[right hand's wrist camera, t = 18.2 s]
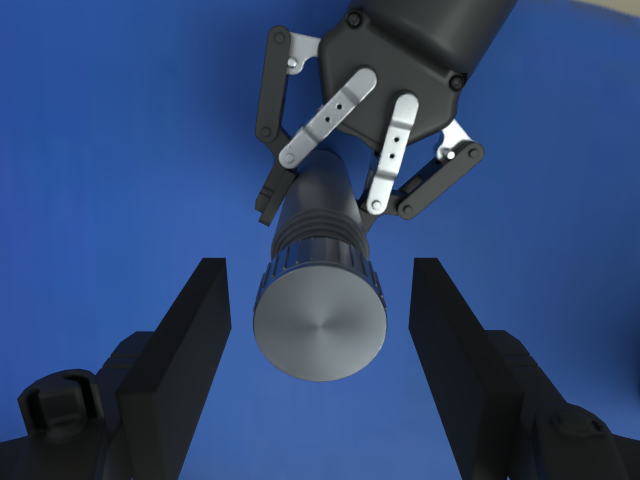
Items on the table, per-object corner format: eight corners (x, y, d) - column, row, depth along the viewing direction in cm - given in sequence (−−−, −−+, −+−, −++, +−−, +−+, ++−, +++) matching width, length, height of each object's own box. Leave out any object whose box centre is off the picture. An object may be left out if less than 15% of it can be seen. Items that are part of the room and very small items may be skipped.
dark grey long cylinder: (327, 213, 33) (335, 391, 14) (282, 184, 32) (228, 331, 13) (358, 170, 32) (413, 302, 13) (312, 138, 31) (301, 229, 12)
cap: (263, 230, 14) (253, 257, 12) (387, 241, 14) (399, 270, 12) (258, 336, 15) (248, 378, 13) (370, 345, 16) (378, 388, 13)
